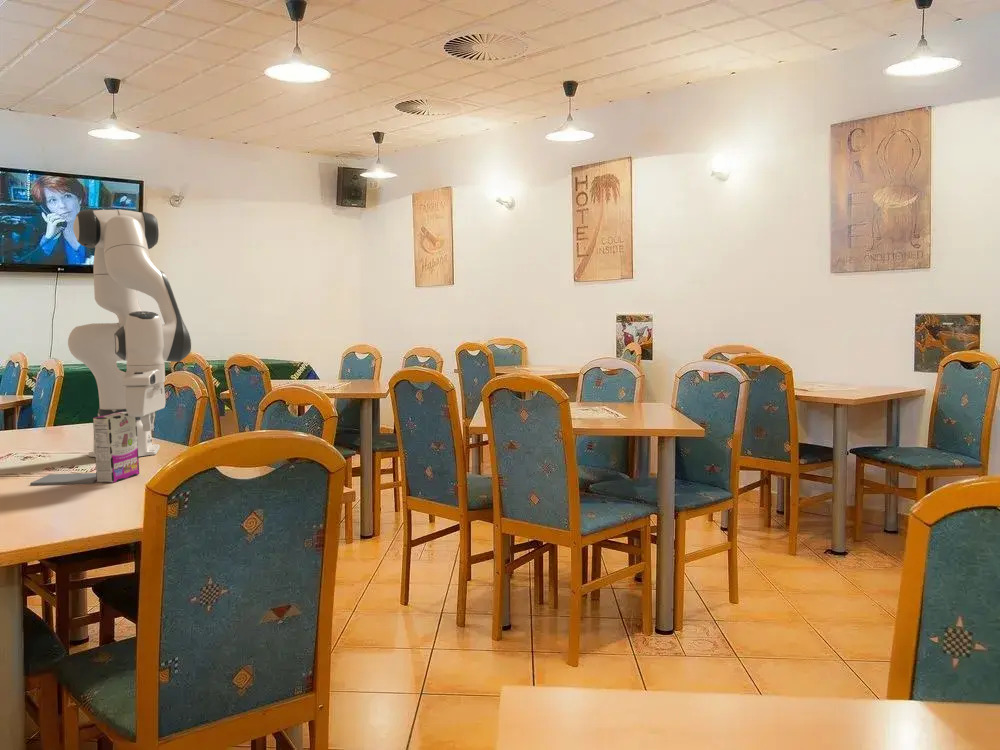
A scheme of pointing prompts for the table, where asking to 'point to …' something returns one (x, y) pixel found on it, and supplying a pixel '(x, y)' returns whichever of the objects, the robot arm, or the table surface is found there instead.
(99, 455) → the candy bar box
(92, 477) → the slate mat
